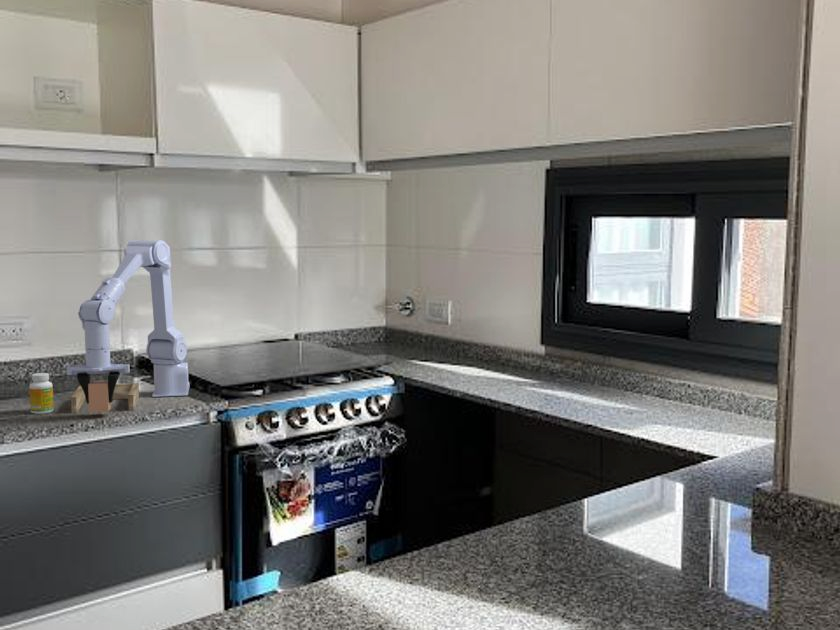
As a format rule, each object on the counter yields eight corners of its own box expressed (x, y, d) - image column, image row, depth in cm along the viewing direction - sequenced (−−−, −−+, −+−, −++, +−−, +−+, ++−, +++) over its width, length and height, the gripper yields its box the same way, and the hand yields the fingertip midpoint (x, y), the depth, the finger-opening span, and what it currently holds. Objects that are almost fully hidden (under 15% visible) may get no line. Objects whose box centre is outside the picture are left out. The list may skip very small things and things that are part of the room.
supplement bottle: (45, 414, 219) (43, 376, 217) (25, 413, 220) (24, 375, 218) (58, 410, 224) (56, 372, 223) (39, 409, 225) (37, 371, 224)
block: (110, 407, 220) (109, 380, 219) (108, 411, 216) (107, 383, 215) (91, 408, 219) (90, 380, 218) (89, 412, 215) (88, 384, 214)
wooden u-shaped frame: (139, 397, 239) (139, 383, 239) (134, 410, 224) (133, 394, 223) (80, 399, 236) (80, 385, 236) (71, 412, 220) (70, 397, 220)
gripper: (63, 351, 210) (66, 407, 211) (126, 349, 213) (128, 404, 215) (68, 347, 217) (70, 400, 218) (129, 345, 220) (131, 398, 221)
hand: (99, 402), depth 217 cm, fingers closed on block, 4 cm apart
